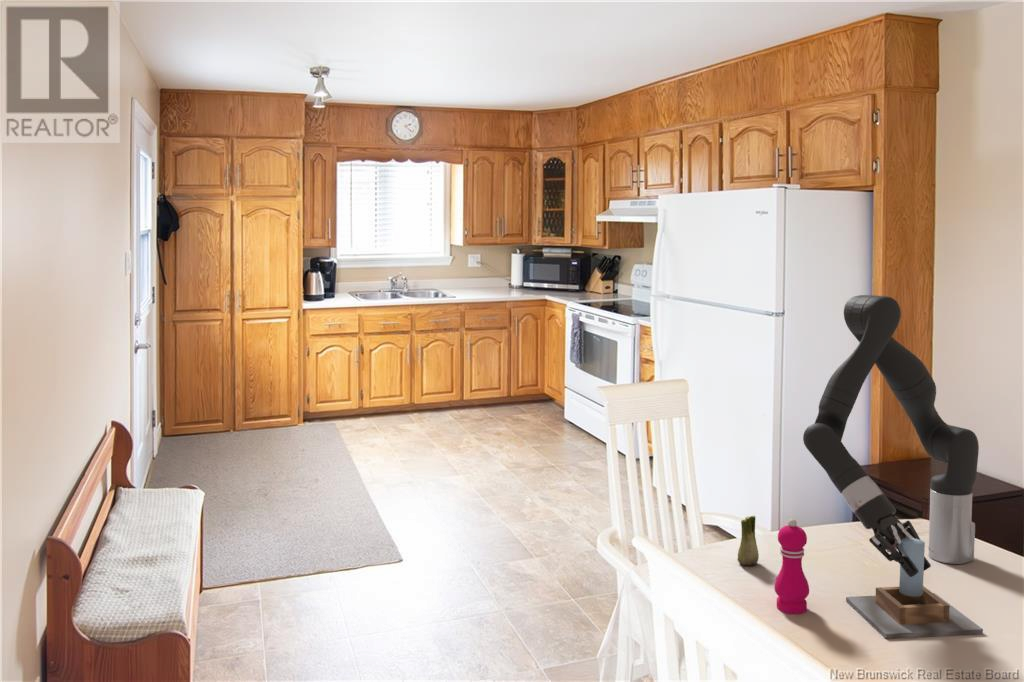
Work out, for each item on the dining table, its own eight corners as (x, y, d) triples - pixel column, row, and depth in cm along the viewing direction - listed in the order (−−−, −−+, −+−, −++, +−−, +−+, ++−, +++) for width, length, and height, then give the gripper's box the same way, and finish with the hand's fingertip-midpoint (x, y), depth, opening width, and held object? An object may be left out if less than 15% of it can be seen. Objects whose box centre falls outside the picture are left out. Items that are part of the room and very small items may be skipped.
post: (915, 587, 181) (917, 537, 180) (927, 596, 176) (929, 545, 175) (895, 588, 181) (896, 538, 179) (906, 597, 176) (907, 545, 175)
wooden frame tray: (934, 597, 188) (934, 577, 188) (982, 633, 171) (983, 612, 170) (846, 601, 188) (846, 581, 187) (885, 638, 170) (885, 617, 169)
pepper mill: (811, 616, 181) (812, 525, 178) (776, 614, 182) (776, 523, 180) (806, 602, 188) (807, 514, 186) (772, 600, 189) (773, 513, 187)
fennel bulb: (752, 559, 214) (752, 512, 213) (764, 565, 209) (764, 518, 208) (732, 562, 212) (732, 515, 211) (744, 569, 208) (744, 521, 206)
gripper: (862, 499, 178) (917, 571, 170) (897, 486, 186) (951, 554, 178) (838, 518, 183) (890, 589, 174) (873, 504, 191) (925, 571, 183)
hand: (920, 571), depth 176 cm, fingers closed on post, 4 cm apart
